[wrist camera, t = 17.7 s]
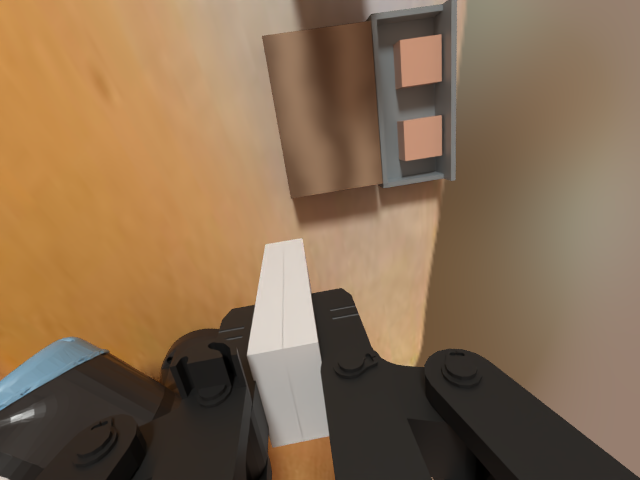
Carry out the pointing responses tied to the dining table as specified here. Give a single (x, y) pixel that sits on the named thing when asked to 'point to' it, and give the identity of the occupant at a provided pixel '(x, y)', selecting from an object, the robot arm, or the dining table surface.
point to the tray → (415, 91)
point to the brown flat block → (326, 107)
